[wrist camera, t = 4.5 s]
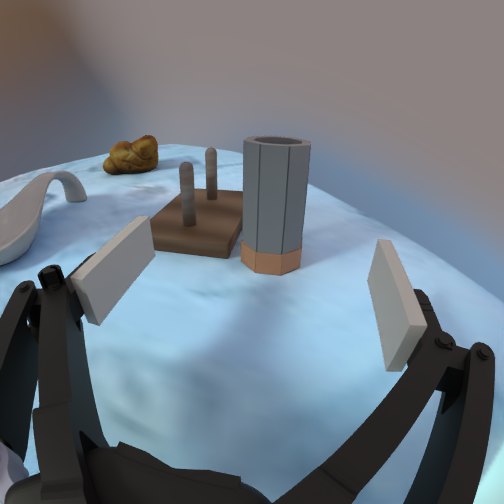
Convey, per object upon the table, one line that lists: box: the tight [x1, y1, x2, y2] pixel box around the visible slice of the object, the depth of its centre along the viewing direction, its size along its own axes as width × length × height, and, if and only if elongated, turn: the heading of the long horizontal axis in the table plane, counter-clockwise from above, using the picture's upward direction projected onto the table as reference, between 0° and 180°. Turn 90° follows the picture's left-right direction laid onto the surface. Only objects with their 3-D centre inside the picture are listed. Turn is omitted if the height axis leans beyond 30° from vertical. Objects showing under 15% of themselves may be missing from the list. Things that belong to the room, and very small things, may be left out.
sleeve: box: [241, 136, 311, 275], centre depth 25 cm, size 5×5×11 cm
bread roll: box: [103, 135, 158, 174], centre depth 55 cm, size 13×10×8 cm
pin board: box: [150, 148, 243, 259], centre depth 32 cm, size 15×10×8 cm, turn 170°
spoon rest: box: [0, 171, 87, 265], centre depth 30 cm, size 24×12×7 cm, turn 177°
